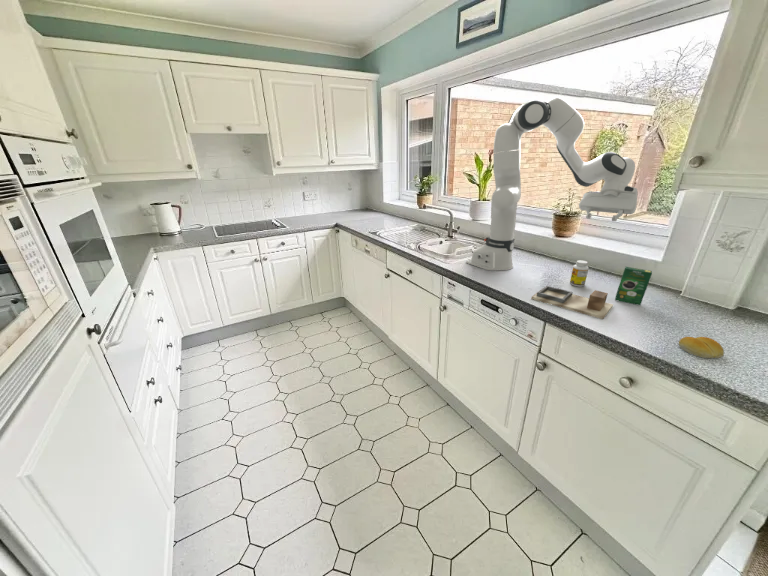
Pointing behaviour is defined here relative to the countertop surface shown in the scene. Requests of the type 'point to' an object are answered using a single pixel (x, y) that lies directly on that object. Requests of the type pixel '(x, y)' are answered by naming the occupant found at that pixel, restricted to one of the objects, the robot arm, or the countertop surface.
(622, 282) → the coffee box
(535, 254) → the countertop surface
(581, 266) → the supplement bottle
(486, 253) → the robot arm
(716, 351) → the bread roll
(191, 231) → the countertop surface
